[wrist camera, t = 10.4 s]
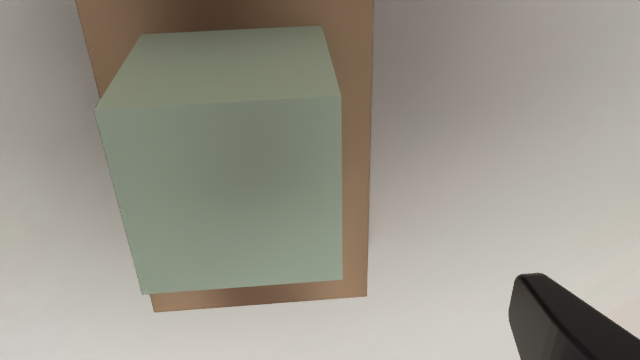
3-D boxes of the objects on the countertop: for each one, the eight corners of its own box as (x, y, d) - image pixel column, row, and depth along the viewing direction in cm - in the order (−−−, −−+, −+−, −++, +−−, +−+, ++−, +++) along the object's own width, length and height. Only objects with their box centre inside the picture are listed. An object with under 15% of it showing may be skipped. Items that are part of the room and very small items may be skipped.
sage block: (321, 25, 16) (341, 96, 12) (325, 176, 18) (342, 279, 14) (141, 34, 15) (93, 110, 11) (171, 186, 18) (142, 294, 14)
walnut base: (360, -210, 15) (378, -218, 13) (356, 247, 24) (366, 296, 21) (64, -201, 15) (22, -209, 12) (166, 260, 23) (154, 312, 21)
